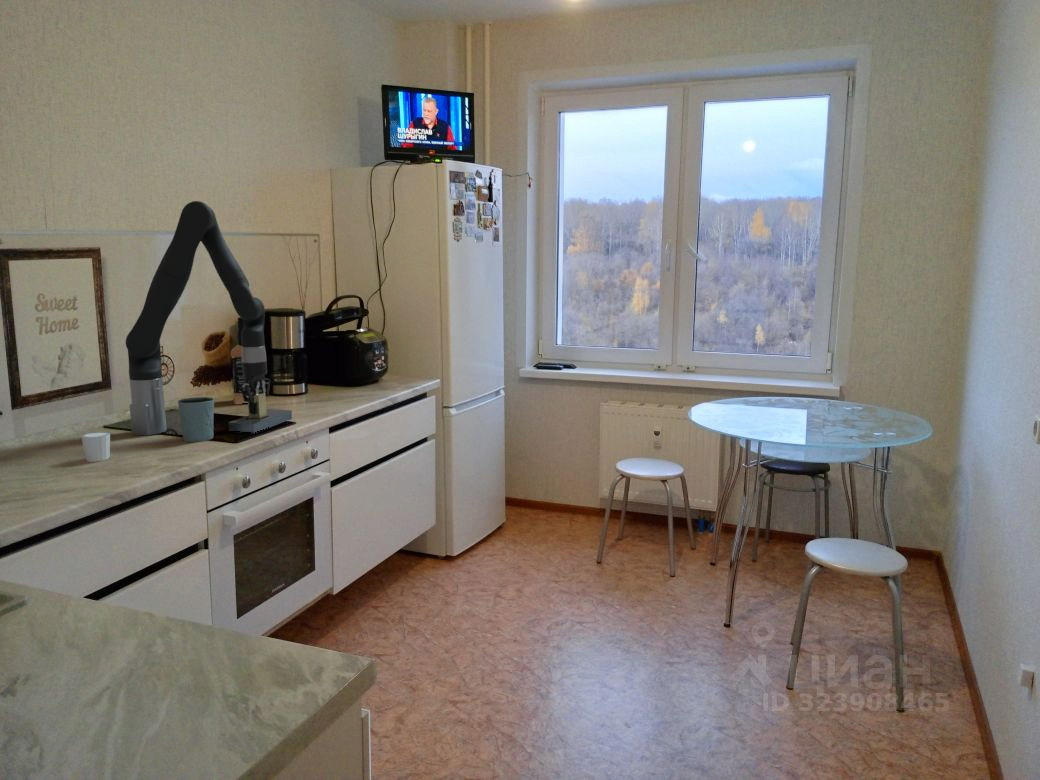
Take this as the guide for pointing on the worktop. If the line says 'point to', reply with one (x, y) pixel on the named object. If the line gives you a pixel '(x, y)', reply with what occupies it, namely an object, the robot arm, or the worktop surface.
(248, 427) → the rail plate
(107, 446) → the white short cylinder
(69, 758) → the worktop surface
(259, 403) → the pale green tall block
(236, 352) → the whiskey bottle
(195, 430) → the blue-green cup
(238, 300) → the robot arm
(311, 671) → the worktop surface
